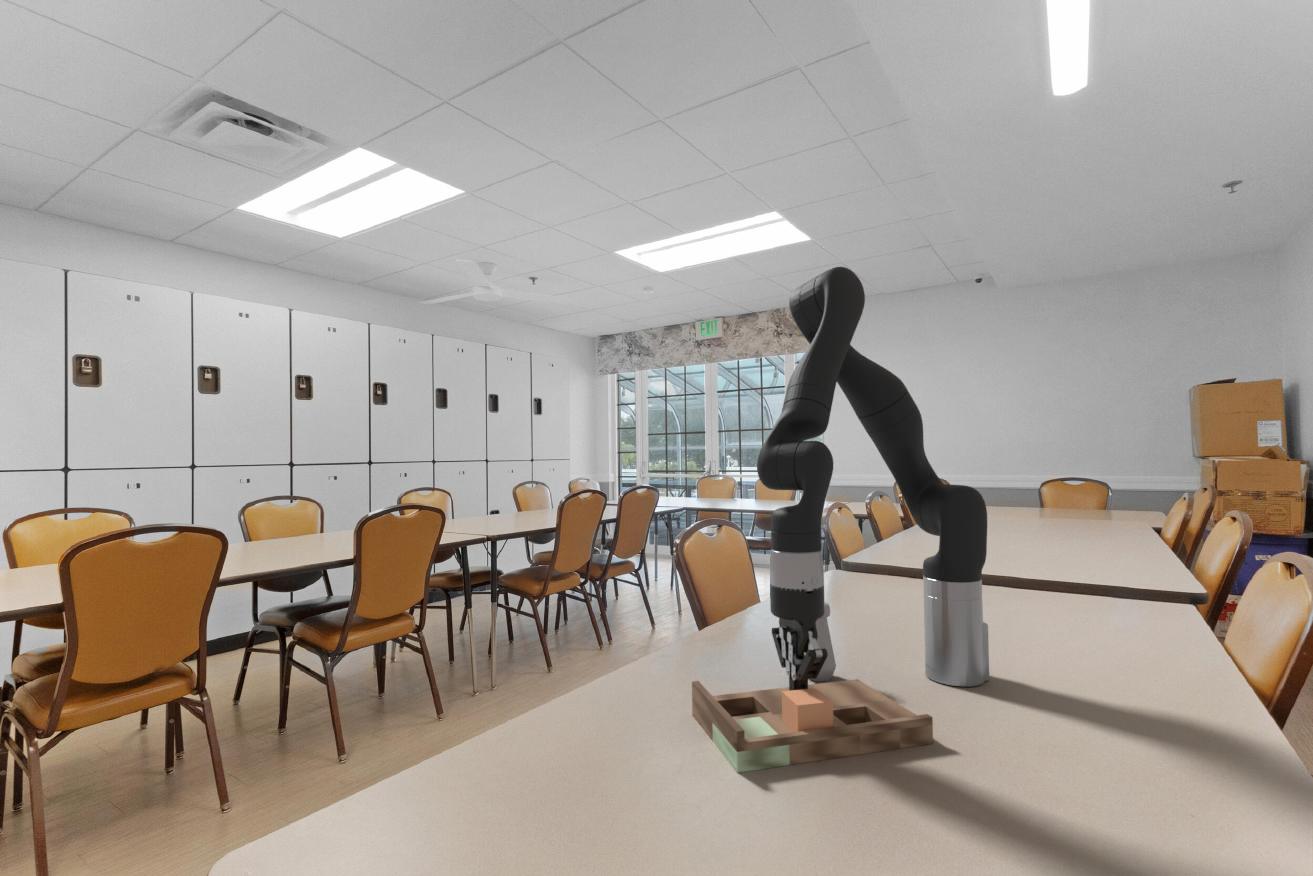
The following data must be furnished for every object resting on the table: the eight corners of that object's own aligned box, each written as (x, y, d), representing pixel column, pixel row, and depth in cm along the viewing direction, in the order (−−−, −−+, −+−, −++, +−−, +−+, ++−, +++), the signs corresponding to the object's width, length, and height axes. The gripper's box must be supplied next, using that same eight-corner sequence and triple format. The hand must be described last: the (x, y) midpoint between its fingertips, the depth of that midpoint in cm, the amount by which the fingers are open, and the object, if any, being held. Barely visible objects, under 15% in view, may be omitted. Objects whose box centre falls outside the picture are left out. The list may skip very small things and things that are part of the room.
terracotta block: (815, 717, 88) (815, 688, 88) (833, 732, 83) (832, 701, 83) (782, 721, 87) (781, 691, 87) (798, 736, 82) (797, 705, 82)
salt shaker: (837, 684, 107) (835, 606, 108) (802, 682, 109) (800, 605, 109) (834, 672, 113) (833, 599, 114) (801, 670, 114) (800, 598, 115)
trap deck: (857, 694, 103) (857, 663, 103) (933, 743, 85) (932, 705, 85) (692, 715, 96) (691, 681, 96) (737, 772, 78) (736, 731, 78)
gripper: (753, 574, 96) (755, 690, 96) (794, 593, 83) (796, 727, 83) (799, 571, 98) (801, 685, 98) (845, 589, 85) (847, 720, 85)
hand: (798, 704), depth 90 cm, fingers closed
